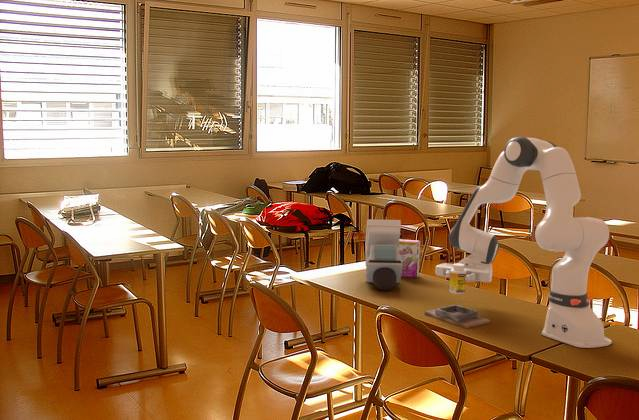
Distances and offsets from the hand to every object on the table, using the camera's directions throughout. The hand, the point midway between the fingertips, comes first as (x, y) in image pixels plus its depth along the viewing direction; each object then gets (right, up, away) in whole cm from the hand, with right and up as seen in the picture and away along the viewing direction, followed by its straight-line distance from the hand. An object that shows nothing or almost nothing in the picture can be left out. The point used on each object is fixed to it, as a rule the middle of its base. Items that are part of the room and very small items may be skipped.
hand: (457, 276), depth 240 cm
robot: (-22, -8, +51) cm, 56 cm away
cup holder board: (0, -15, +3) cm, 15 cm away
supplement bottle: (0, -6, +2) cm, 6 cm away
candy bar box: (-10, -6, +67) cm, 68 cm away
